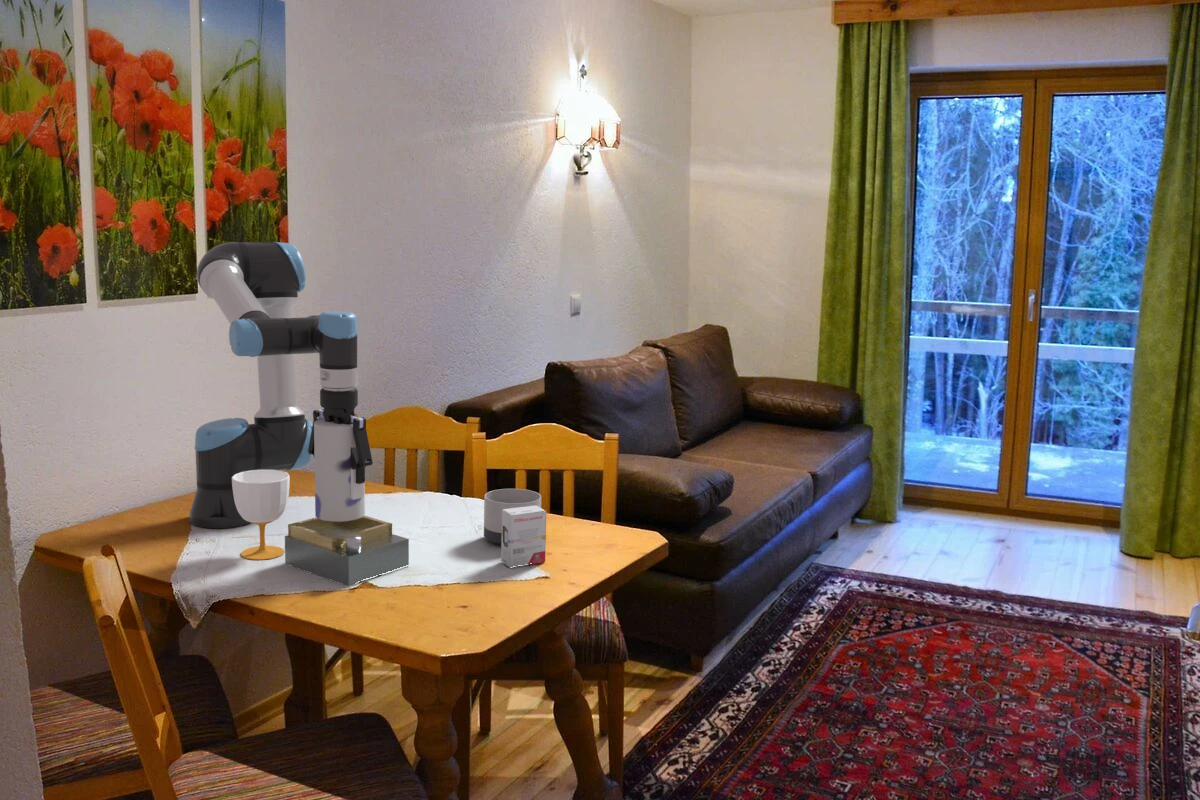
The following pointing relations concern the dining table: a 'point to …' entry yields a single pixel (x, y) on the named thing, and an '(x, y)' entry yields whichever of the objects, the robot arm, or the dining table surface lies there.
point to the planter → (504, 500)
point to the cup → (261, 505)
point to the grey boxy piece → (345, 548)
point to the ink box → (523, 535)
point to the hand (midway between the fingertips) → (340, 493)
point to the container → (335, 473)
